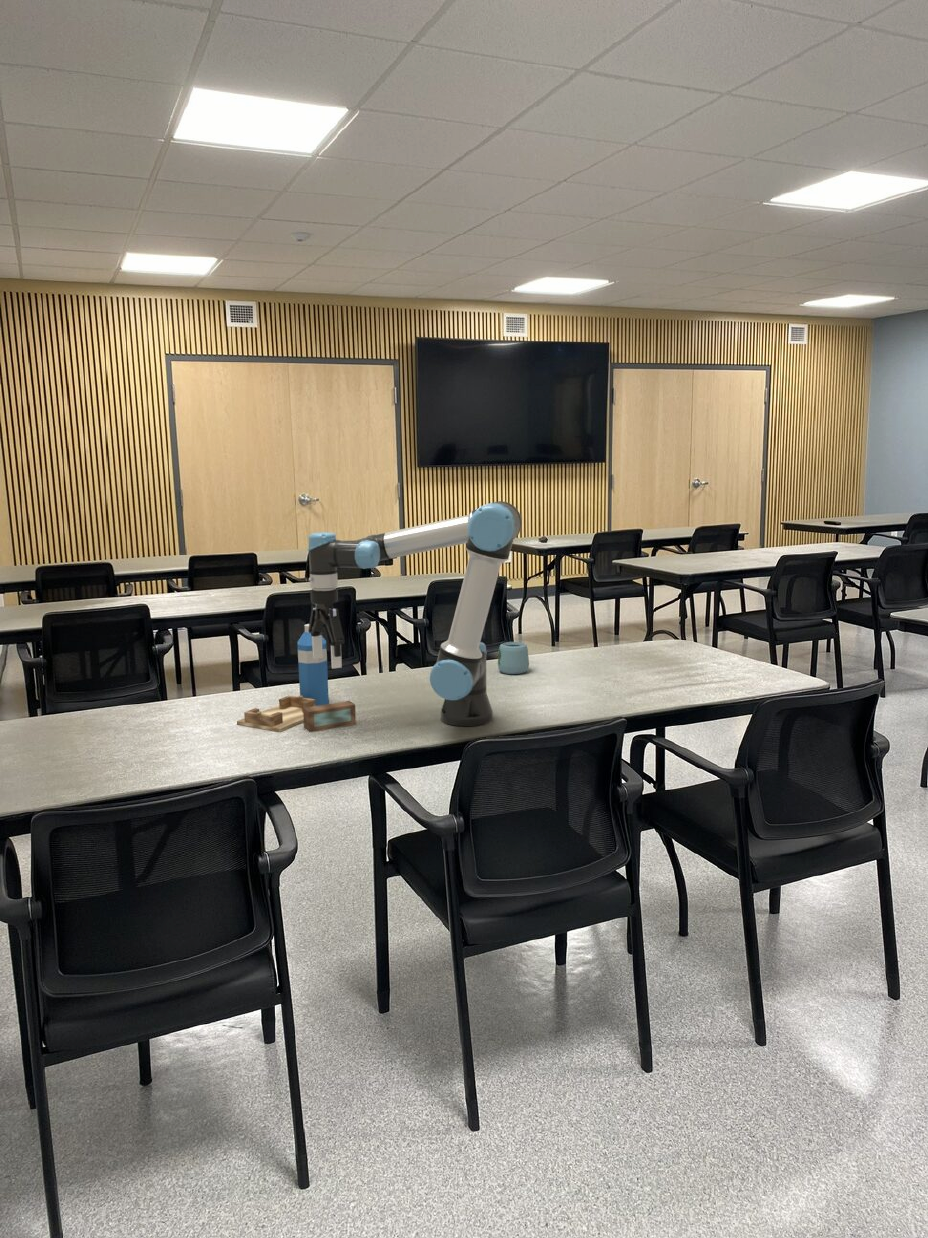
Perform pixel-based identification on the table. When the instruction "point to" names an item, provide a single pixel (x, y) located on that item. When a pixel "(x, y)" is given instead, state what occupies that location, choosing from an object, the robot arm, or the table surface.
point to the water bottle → (312, 670)
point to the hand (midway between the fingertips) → (327, 663)
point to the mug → (513, 658)
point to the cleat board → (278, 714)
